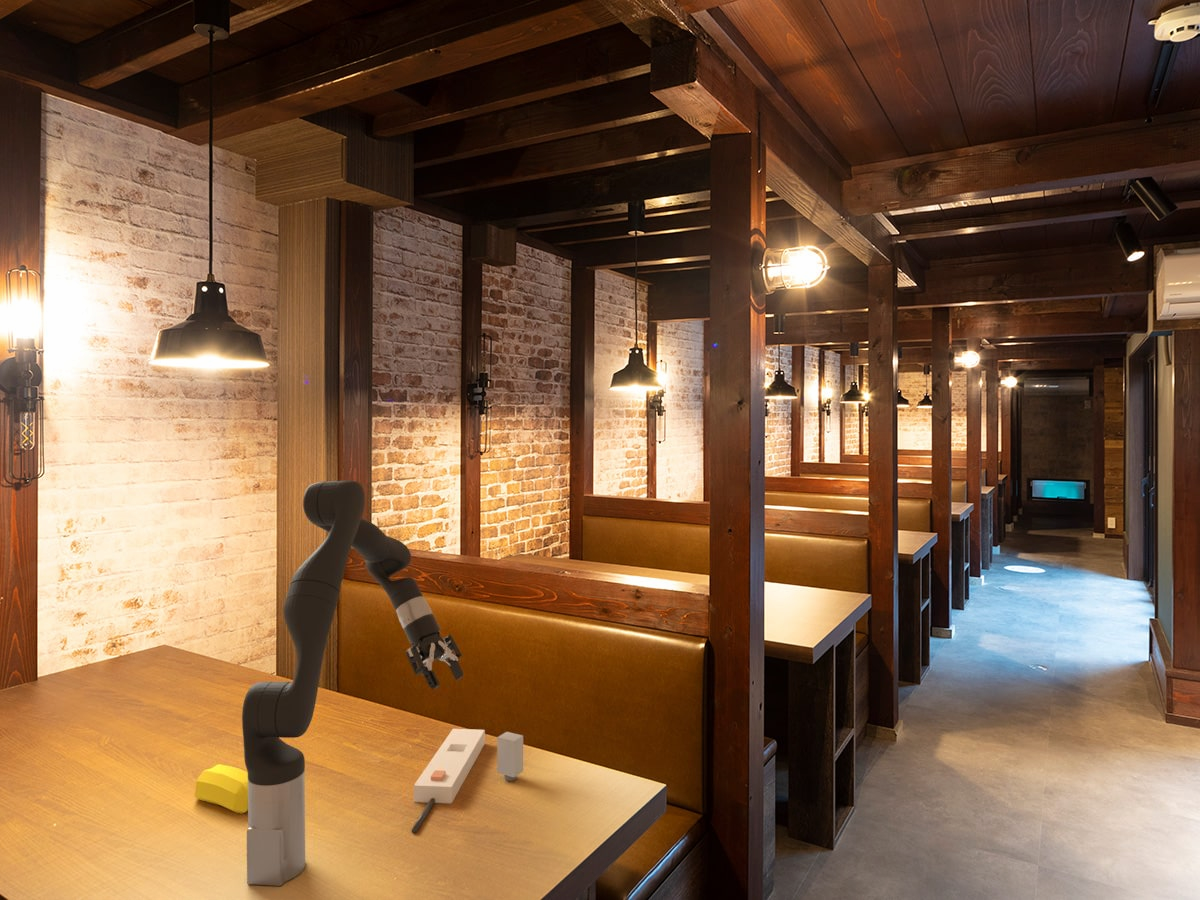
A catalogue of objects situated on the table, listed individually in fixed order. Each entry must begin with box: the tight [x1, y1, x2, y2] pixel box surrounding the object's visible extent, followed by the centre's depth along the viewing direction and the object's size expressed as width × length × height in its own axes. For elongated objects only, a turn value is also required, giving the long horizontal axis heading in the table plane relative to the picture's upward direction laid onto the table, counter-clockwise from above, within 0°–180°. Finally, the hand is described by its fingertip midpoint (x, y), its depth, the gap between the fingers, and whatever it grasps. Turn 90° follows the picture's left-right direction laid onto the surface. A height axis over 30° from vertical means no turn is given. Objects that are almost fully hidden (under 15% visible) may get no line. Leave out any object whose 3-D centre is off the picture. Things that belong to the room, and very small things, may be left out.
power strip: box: [411, 728, 486, 834], centre depth 167 cm, size 42×8×4 cm, turn 175°
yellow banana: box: [194, 763, 248, 815], centre depth 158 cm, size 18×7×8 cm
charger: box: [496, 731, 524, 782], centre depth 169 cm, size 4×4×10 cm
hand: (448, 682), depth 175 cm, fingers open, 8 cm apart
